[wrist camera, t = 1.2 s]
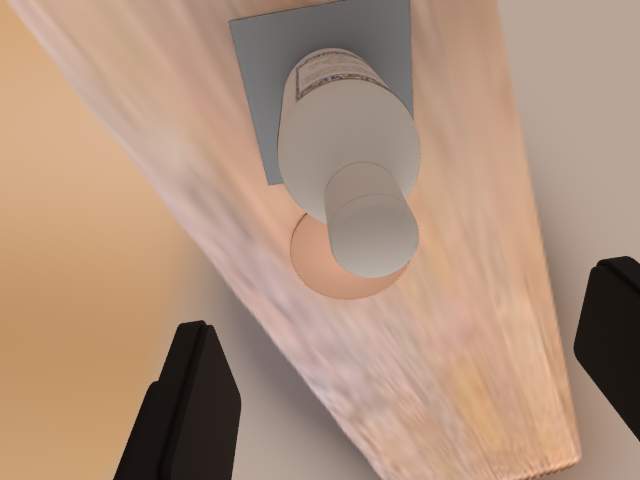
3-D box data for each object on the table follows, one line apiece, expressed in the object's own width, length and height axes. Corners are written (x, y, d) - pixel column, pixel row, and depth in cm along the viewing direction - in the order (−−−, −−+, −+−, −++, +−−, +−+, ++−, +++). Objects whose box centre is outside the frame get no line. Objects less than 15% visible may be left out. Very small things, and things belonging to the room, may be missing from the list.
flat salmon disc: (279, 205, 35) (279, 208, 34) (409, 184, 34) (410, 187, 34) (302, 303, 41) (302, 307, 40) (413, 286, 40) (415, 290, 40)
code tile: (229, 21, 27) (228, 21, 27) (408, -12, 27) (409, -12, 27) (268, 184, 34) (268, 185, 34) (414, 160, 33) (414, 161, 33)
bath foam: (347, 159, 33) (402, 347, 16) (267, 118, 31) (232, 282, 14) (396, 78, 30) (530, 202, 13) (311, 26, 28) (335, 91, 11)
